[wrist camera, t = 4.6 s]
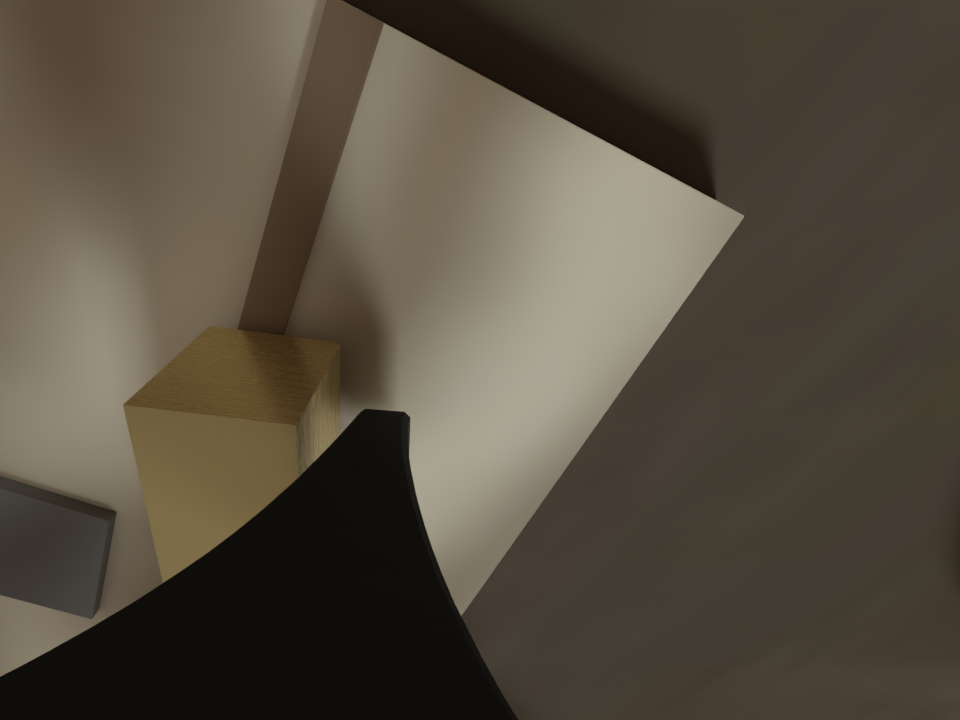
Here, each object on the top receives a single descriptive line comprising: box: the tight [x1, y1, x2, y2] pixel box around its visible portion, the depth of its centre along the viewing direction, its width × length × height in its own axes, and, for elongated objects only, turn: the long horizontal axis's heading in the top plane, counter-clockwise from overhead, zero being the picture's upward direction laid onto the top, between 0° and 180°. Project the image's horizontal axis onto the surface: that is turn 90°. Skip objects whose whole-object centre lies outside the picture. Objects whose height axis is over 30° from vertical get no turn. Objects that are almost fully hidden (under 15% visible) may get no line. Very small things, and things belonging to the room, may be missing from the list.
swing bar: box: [123, 326, 341, 583], centre depth 11 cm, size 10×2×3 cm, turn 172°
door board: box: [0, 0, 744, 676], centre depth 13 cm, size 12×21×2 cm, turn 155°
